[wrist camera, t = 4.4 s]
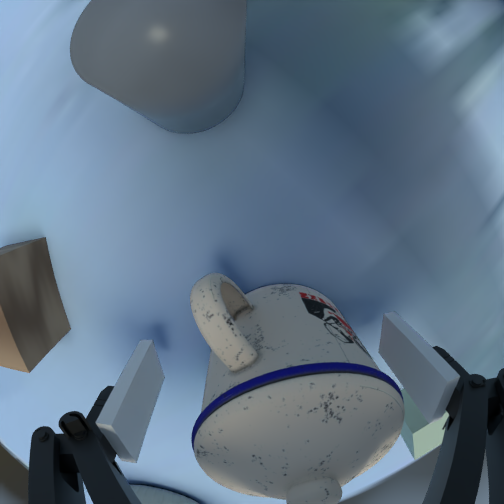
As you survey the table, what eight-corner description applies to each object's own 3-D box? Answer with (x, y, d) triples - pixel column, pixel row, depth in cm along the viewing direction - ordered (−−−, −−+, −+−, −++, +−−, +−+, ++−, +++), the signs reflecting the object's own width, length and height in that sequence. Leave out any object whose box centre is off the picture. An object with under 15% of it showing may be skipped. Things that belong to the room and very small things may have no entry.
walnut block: (7, 245, 15) (-45, 267, 9) (46, 237, 15) (-12, 260, 9) (30, 326, 17) (-10, 363, 11) (71, 328, 17) (29, 372, 11)
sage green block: (389, 395, 20) (412, 433, 15) (443, 361, 19) (472, 392, 14) (396, 426, 21) (414, 460, 16) (444, 396, 21) (466, 425, 16)
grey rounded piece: (141, 54, 13) (82, -13, 5) (239, 37, 13) (238, -52, 5) (144, 142, 14) (64, 115, 6) (249, 126, 14) (256, 72, 6)
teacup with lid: (364, 351, 18) (441, 476, 7) (257, 408, 19) (268, 544, 8) (281, 205, 15) (382, 272, 4) (152, 289, 16) (54, 432, 5)
